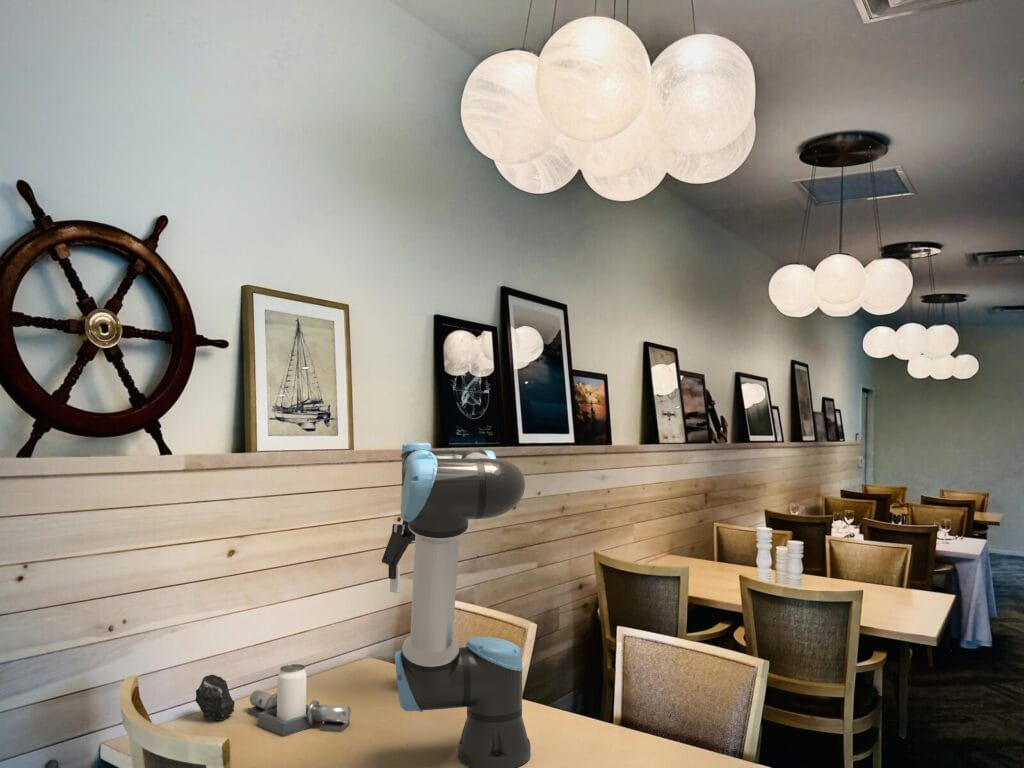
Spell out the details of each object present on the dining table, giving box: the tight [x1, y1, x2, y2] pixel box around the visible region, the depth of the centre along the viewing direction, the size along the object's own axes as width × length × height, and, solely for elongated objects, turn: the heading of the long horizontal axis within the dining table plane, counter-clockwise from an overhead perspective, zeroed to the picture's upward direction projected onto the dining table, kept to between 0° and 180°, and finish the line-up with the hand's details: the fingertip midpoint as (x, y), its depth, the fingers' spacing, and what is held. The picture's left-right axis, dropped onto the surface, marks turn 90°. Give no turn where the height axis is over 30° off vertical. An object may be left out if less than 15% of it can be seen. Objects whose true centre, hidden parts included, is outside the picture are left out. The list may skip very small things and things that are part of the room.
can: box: [276, 663, 308, 721], centre depth 171 cm, size 6×6×12 cm
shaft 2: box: [307, 699, 352, 733], centre depth 169 cm, size 9×5×6 cm, turn 80°
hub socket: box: [257, 704, 324, 737], centre depth 171 cm, size 10×10×3 cm
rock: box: [195, 674, 235, 721], centre depth 175 cm, size 8×7×10 cm
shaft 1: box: [247, 689, 277, 719], centre depth 177 cm, size 9×5×6 cm, turn 50°
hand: (415, 588), depth 186 cm, fingers open, 13 cm apart
